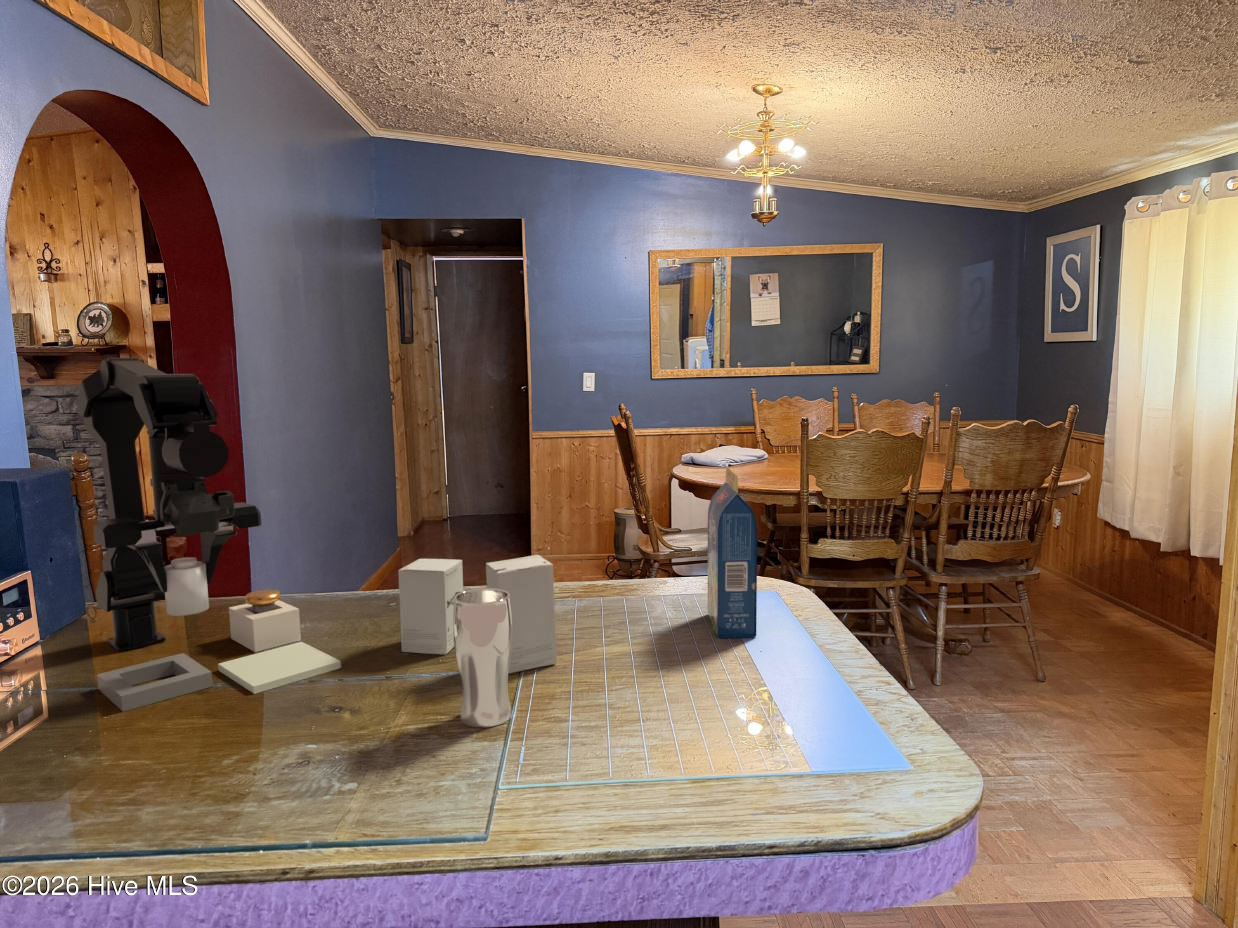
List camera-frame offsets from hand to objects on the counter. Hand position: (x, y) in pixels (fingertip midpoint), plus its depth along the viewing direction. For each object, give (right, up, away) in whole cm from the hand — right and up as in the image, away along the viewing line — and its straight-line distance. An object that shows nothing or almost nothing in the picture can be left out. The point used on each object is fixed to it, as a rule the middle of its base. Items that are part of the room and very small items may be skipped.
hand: (186, 587), depth 108 cm
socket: (-4, -13, 0) cm, 14 cm away
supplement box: (+29, -11, +15) cm, 35 cm away
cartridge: (0, -3, 0) cm, 3 cm away
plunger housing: (+3, -11, +18) cm, 22 cm away
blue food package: (+75, -10, +22) cm, 79 cm away
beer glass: (+41, -14, -10) cm, 45 cm away
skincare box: (+44, -12, +7) cm, 46 cm away
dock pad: (+10, -12, +6) cm, 17 cm away
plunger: (+3, -9, +18) cm, 21 cm away
